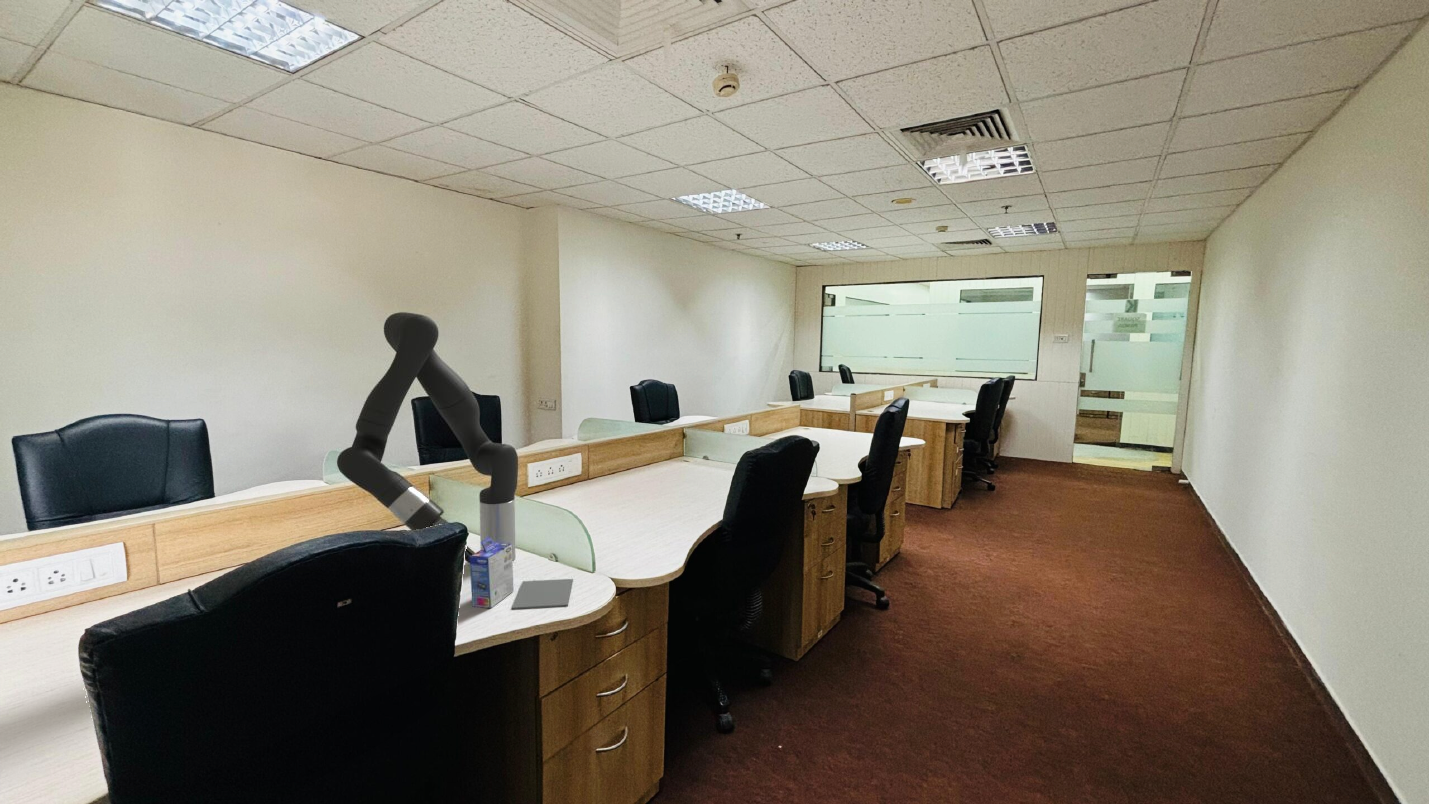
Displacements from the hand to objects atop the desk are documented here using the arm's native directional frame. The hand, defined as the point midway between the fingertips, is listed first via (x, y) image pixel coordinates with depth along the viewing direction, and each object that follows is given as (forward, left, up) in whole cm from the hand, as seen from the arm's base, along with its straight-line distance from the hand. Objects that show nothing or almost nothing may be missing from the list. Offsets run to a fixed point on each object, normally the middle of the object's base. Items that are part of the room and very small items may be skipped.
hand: (473, 559), depth 133 cm
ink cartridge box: (0, +4, -10) cm, 11 cm away
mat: (-1, +16, -10) cm, 19 cm away
